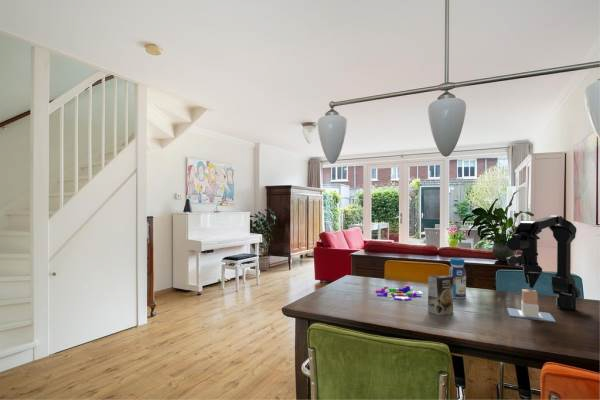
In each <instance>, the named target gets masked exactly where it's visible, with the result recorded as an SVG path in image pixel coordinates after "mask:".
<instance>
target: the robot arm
mask: <svg viewBox="0 0 600 400" xmlns="http://www.w3.org/2000/svg"><path fill="white" fill-rule="evenodd" d="M547 228H548V229H549V230H550V231H551V232H552V236H553V238H554V239H555V240H556V242H557V246H556V249H557V250H556V251H557V252H556V253H557V254H556V255H557V256H556V273H555V274H554V275H553V276H551V284H550V285H551V288H552V293H553V294H555V295H556V297H555V306H556V308H558V309H559V310H564V311H573V312H577V311H578V309H577V300H576V299H579V298H580V296H581V291H580V290H579V289H578V287H577V286H576V281H575V279H574V277H573V275H572V274H571V267H572V266H571V263H572V262H571V261H572V260H571V259H572V258H571V256H572V255H571V254H572V253H571V252H572V251H571V249H572V248H571V247H572V242H573V241H574V240H575V239H576V236H577V235H576V234H577V227H576V226H575V225H574V224H573V222H571V221H569V220H567V219H565V218H564V217H563V216H562V215H556V214H555V215H551V214H550V215H548V216H545V217H541V218H539V219H536V220H520V221H519V224H517V227H516V229H515V231H514V233H513V234H511V237H510V238H508V240H507V243H506V245H507V247H508V249H510V250H511V251H513V252H517V251H518V252H519V254H516V255H511V256H508V257H506V258H505V259H506V261H507V264H508V265H509V266H514V265H517V266H518V267H519V268H520V269H521V271H522V272H523V275H524V279H525V283H526V284H528V286H529V288H530V289H533V288H534V287H535V285H536V283H537V281H538V280H539V278H540V276H541V275H542V273H543V268H542V267H541V266H540V264H539V262H538V256H539V253H538V240H541V237H539V236H538V234H540V233H541V232H543V231H542V230H543V229H547Z"/></svg>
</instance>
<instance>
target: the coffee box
mask: <svg viewBox="0 0 600 400" xmlns="http://www.w3.org/2000/svg"><path fill="white" fill-rule="evenodd" d="M427 277H428V280H427V282H428V283H427V285H428V286H427V312H429V313H432V314H434V315H436V316H443V315H449V314H453V313H454V298H453V277H451V276H449V275H447V274H446V275H445V274H437V275H435V274H434V275H428V276H427Z"/></svg>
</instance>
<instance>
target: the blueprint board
mask: <svg viewBox="0 0 600 400" xmlns="http://www.w3.org/2000/svg"><path fill="white" fill-rule="evenodd" d="M506 310H507V313H508V315H509V317H511V318H519V319H527V320H534V321H540V322H541V321H542V322H549V323H557V321H556V320H555V318H554V317H553V315H552V314H551V313H550V312H545V311H544V312H542V311H539V317H537V316H529V315H523V314H522V312H521V309H518V308H512V307H511V308H510V307H506Z"/></svg>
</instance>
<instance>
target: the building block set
mask: <svg viewBox="0 0 600 400" xmlns="http://www.w3.org/2000/svg"><path fill="white" fill-rule="evenodd" d="M380 288H381V289H375V293H377V297H387V298H393V297H394V300H395V301H405V302H406V301H413V299H412V298H422V296H423V295H424V293H423V292H422V291H421V290H414V288H413V287H411V286H410V285H408V284H405V285H404V286H403V287H398V288H397V287H388V286H384V287H380Z"/></svg>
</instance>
